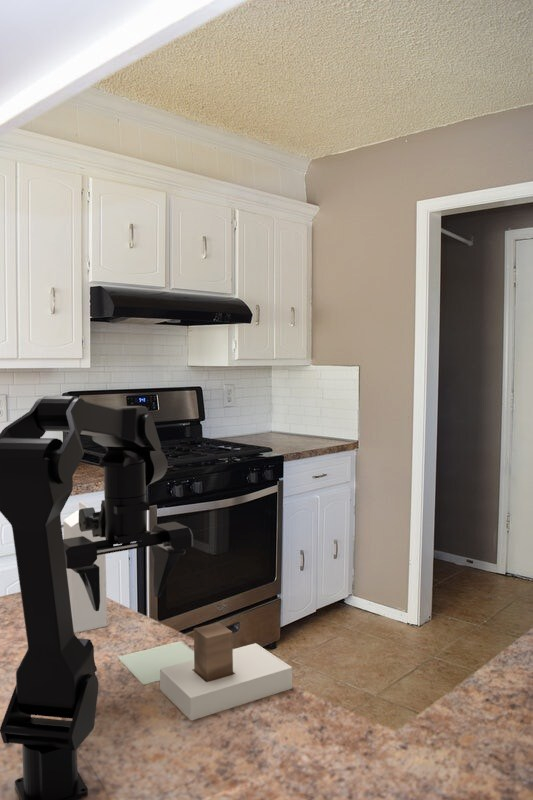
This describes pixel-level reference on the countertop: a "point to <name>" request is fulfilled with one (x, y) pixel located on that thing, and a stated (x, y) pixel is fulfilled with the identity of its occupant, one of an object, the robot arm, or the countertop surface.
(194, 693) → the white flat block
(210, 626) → the plug
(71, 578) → the milk
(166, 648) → the mat
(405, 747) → the countertop surface
